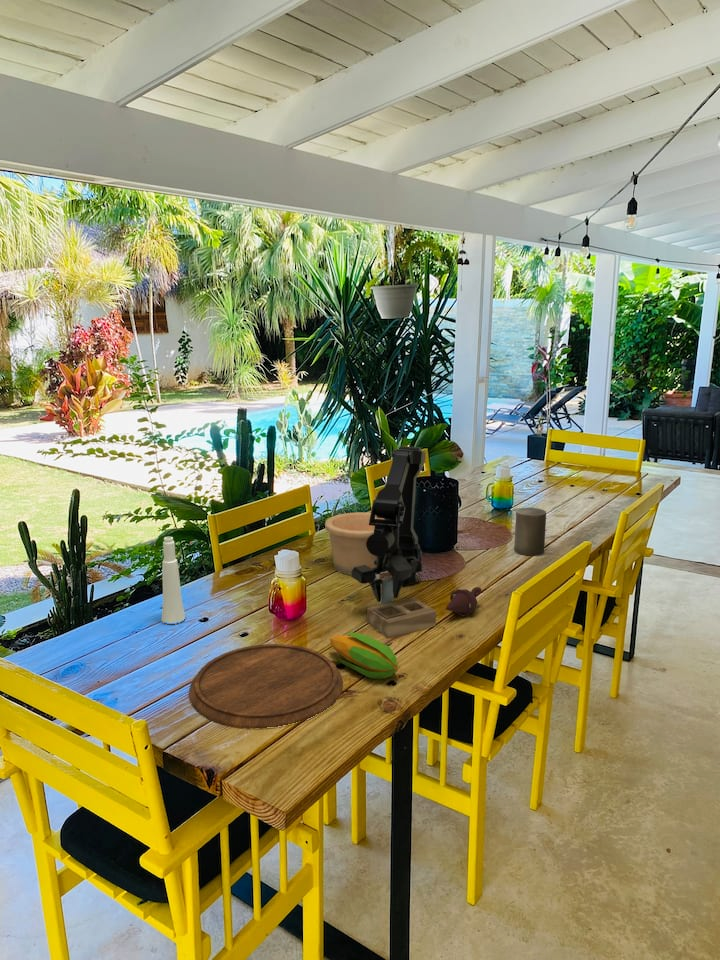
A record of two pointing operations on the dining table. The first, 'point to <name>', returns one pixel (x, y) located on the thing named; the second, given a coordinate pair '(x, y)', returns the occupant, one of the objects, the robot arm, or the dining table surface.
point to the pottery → (350, 541)
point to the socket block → (401, 617)
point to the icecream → (463, 601)
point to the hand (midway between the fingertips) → (387, 599)
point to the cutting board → (265, 686)
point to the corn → (365, 655)
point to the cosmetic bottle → (171, 585)
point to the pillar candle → (530, 531)
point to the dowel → (387, 591)
